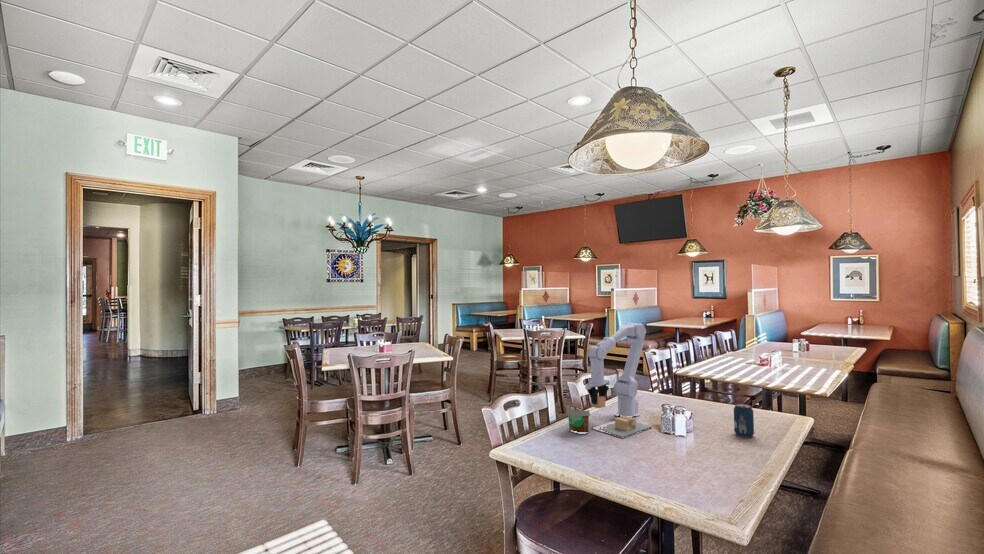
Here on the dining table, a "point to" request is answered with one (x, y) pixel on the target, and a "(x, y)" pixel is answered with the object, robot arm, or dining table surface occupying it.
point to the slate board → (623, 433)
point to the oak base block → (625, 423)
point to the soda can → (743, 420)
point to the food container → (578, 419)
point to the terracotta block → (599, 402)
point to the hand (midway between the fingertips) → (598, 402)
